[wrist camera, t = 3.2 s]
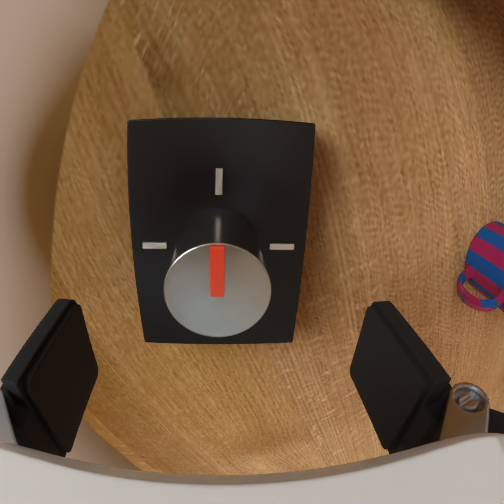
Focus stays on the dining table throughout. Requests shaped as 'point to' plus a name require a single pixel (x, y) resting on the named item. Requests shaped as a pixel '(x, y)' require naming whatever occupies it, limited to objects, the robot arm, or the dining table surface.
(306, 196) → the panel
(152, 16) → the dining table surface
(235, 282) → the hob knob
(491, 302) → the mug
